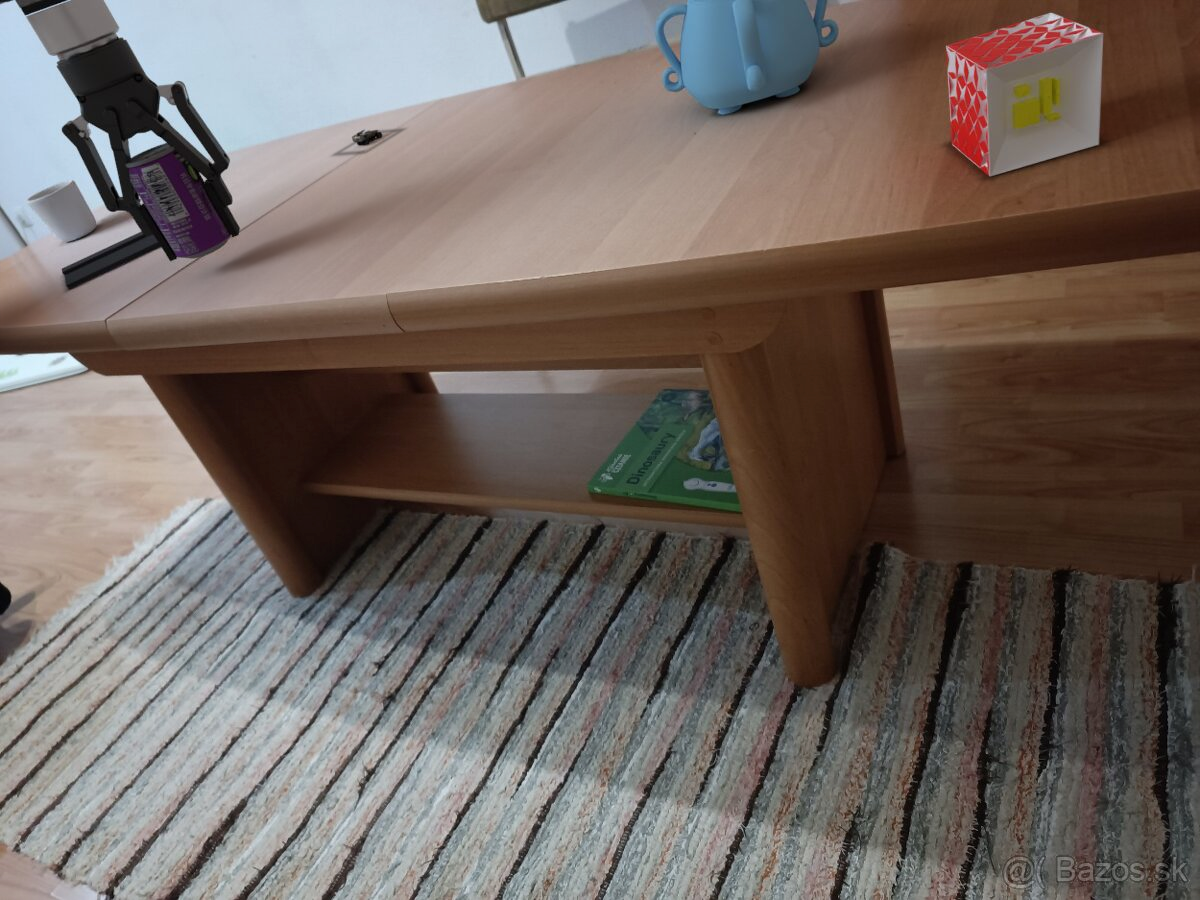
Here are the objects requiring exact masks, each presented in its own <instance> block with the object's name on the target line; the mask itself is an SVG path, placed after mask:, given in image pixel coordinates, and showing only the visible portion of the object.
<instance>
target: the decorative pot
mask: <svg viewBox="0 0 1200 900" xmlns="http://www.w3.org/2000/svg"><path fill="white" fill-rule="evenodd" d="M815 4H816V5H815V10H814V15H812V12H811V11H810V8H809V7H808V4H807V3H806V1H805V0H687V2H686V4H684V3H682V4H681V3H678V4H673V5H671V6H669V7H667V8H666V9H665V10H664V11H663V12H662V13H661V14H660V15H659V16H658V18H657V20H656V22H655V25H654V37H655V38H654V39H655V41H656V43H657V46H658V48H659V50H660V51H661V53H662V54H663V56H664V58H665V59H666V61H667V62H668V63H669V65H670V66H669V67H667V68H665V70H664V71H663V73H662V75H661V83H662V85H663V87H664V89H665V90H667V91H668V92H672V93H678V92H681V91H683V90H684V89H685V90H686V91H687V93H689V94H690V95H691V97H692V98H694V100H696V102H698V103H699V104H700V105H702V106H703V107H705V108H707V109H714V110H718V111H717V114H718V115H728V114H732V113H734V112H737V111H739V110H740V109H741V108H742V105H745V104H749V103H752V102H755V101H760V100H763V99H766V98H770V97H773V96H775V97H776V98H786V97H789V96H792V95H795V94H797V93H798V92H799V91H800V90H801V89H800V87H799V86H800V85H802V84H803V83H805V82H806V81H807V80H808V79H809V77H810V76H811V73H812V72H813V69H814V67H815V64H816V62H817V60H818V57H819V54H820V48H822V49H823V48H827V47H829V46H831V45H832V44H834V43H835V42H836V41H837V39H838V37H839V27H838V24H837V22H836V20H833V19H831V18H827V19H825V15H826V11H827V10H826V9H827V4H828V0H816V3H815ZM682 15H684V16H683V22H682V27H681V34H680V35H681V36H680V44H679V58H678V57H677V55H676V54H675V52H674V51H673V49H672V48H671V46H670V44H669V43H668V41H667V37H666V35H665V30H664V28H665V25H666V23H667V22H668V21H669V20H670V19H672V18H674V17H675V16H682ZM824 28H829V30H830V31H829V33H828V34H827V35H825V36H823V29H824ZM673 74H676V77H677V81H676V82H673V81H672V80H670V75H673Z"/></svg>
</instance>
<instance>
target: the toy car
mask: <svg viewBox="0 0 1200 900" xmlns="http://www.w3.org/2000/svg"><path fill="white" fill-rule="evenodd" d="M382 137H383V132H381V131H379V129H375V130H374V129H373V130H371V129H367V130H366V129H365V128H364V129H361V130H360V131H358V132H357V133H356V134H354V135H352V136H351V139H352V142H353V143H356V145H357V146H359V147H360V146H361V147H362V146H369V145H370V144H371V143H372V142H373V141H375V140H378V139H381V138H382Z"/></svg>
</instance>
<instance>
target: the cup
mask: <svg viewBox="0 0 1200 900" xmlns="http://www.w3.org/2000/svg"><path fill="white" fill-rule="evenodd" d="M25 203H26V204H27V206H28V207H29V208H30V209H31V210H32V211H33V213H34V214H35V215H36V216H37V217H38V218H39V220H40V221H41V222H42V223H43V224H44V225H45V227H46V228H47V229H48V230H49V231H50V232H51V233H52V234H53V235H54V237H55V238H56V239H58V240H59V241H61V242H64V243H65V242H67V243H68V242H72V241H75V240H78V239H81V238H83V237H85V236H87V235H88V234H90V233H92V232H93V231H94V230H95V229H96V228H97V219H96V217H95V215H94V214H93V212H92V210H91V208H90V206H89V204H88V202H87V201H86V200H85V197H84V195H83V194H82V192H81V190H80V188H79V186H78V184H77V183H76V181H75V180H73V179H68V180H65V181H61V182H59V183H56V184H52V185H51V186H49V187H46V188H44V189H42V190H40V191H38V192H36V193H34V194H32V195H31V196H29V197H28V198H27V199H26V202H25Z"/></svg>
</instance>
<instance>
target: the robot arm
mask: <svg viewBox="0 0 1200 900" xmlns="http://www.w3.org/2000/svg"><path fill="white" fill-rule="evenodd" d="M12 1H13V0H0V5H2V4H5V3H9V2H12ZM14 1H15V2H16V4H17V5H18V7H19V9H20V10H21V11H22V13H23V15H24V16H25V18H26V20H27V21H28V23H29V25H30V26H31V27H32V29H33V31H34V33H35V35H36V36H37V37H38V39H39V41H40V42H41V44H42V46H43V47H44V49H45V51H46V52H47V54H48V55H49V56H52V57H55V56H56V57H57V59H58V61H56V64H57V65H56V68H57V69H58V71H59V73H60V75H61V77H62V78H63V79H64V81H65V83H66V84H67V86H68V87H69V89H70V90H71V92H72V94H73V95H74V97H75V98H76V101H77V102H78V104H79V109H80V110H79V111H80V115H79V116H77V117H76V118H74V119H73V120H69V121H67V122H66V123H65V124H64V125H63V126H61V133H62V134H63V135H64V136H65V137H66V139H68V140H69V141H70V142H71V144H72V145H73V146H74V147H75V148H76V150H77V152H78V154H79V156H80V158H81V160H82V162H83V164H84V166H85V168H86V170H87V172H88V174H89V176H90V178H91V180H92V182H93V184H94V186H95V188H96V190H97V192H98V194H99V196H100V198H101V201H102V202H103V204H104V206H105V208H106V210H108V212H110V213H115V212H126V213H129V214H130V216H131V217H132V219H133V221H134V222H135V224H136V225H137V227H138V228H139V229H140V232H141V231H142V233H143V234H144V235H145V236H147V237H148V236H150V235H154V236H155V238H156V239H157V241H158V243H159V244H160V247H161V249H162V250H163V252H164V254H165V256H166V257H167V259H168V261H169V262H173V261H175V260H177V259H178V257H177V256H176V255H175V253H174V251H173V250H172V248H171V246H170V245H169V243H168V242H167V240H166V238H165V237H164V235H163V234H162V232H161V230H160V229H159V227H158V226H157V224H156V222H155V221H154V219H153V217H152V216H151V214H150V213H149V211H148V209H147V208H146V206H145V205H144V203H141V202H142V200H141V198H140V197H139V195H138V193H137V192H136V190H135V188H134V187H133V185H132V183H131V182H130V174H129V168H127V167H126V165H125V164H127V163H130V161H131V158H132V156H131V150H130V143H129V140H130V139H132V138H133V137H134V136H136V135H137V134H146V133H148V132H152V133H153V134H154V135H156V136H157V137H158V138H161V139H162V140H163V141H164V142H165V143H167V144H169V145H170V146H171V147H173V146H174V148H175V151H176V152H177V153H178V154H180V155H181V156H182V157H183V158H184V159H186V160H187V162H188V163H190V164H191V165H192V166H193V167H194V168H195V169H196V170H197V171H198V172H199V173H200V175H201V176H202V177H204V178H205V180H204V182H205V183H204V185H203V187H204V188H205V190H206V192H207V194H208V195H209V197H210V199H211V201H212V202H213V204H214V206H215V208H216V209H217V211H218V213H219V215H220V216H221V218H222V220H223V222H224V223H225V225H226V227H227V229H228V230H229V232H230V234H231V236H230V237H231V238H235V237H237V236H239V234H240V231H241V228H240V225H239V224H238V222H237V221H236V219H235V216H234V215H233V213H232V212H231V209H230V208H229V207H230V206H232V205H233V203H234V200H233V196H232V193H231V191H230V190H229V188H228V186H227V185H226V183H225V181H224V179H223V177H222V174H223V173H224V172H225V171H226V170H227V169H228V168H229V166H230V163H231V159H230V156H229V155H228V154H227V152H226V151H225V149H224V148H223V147H222V145H221V144H220V142H219V141H218V140H217V138H216V137H215V135H214V134H213V132H212V131H211V129H210V128H209V127H208V125H207V124H206V122H205V121H204V119H203V118H202V117H201V115H200V114H199V112H198V111H197V110H196V107H194V105H193V104H192V102H191V100H190V97H189V93H188V90H187V87H186V84H185V83H184V82H183V81H181V80H176V81H174V83H169V84H159V85H158V84H157V83H156V82H155V81H153V80H152V79H150V78H149V76H148V75H147V73H146V72H145V70H144V68H143V66H142V65H141V63H140V61H139V59H138V58H137V56H136V54H135V53H134V51H133V49H132V47H131V45H130V44H129V42H128V40H127V39H124V37H119V36H118V34H117V33H118V32H119V31H120V26H119V24H118V23H117V21H116V19H115V17H114V15H113V14H112V12H111V10H110V9H109V7H108V5H107V3H106V2H105V0H14ZM161 97H162V98H164V99H166V101H167V103H168V104H169V105H171V106H175V107H176V109H177V111H178V113H179V115H180V116H181V117H182V119H183V121H185V123H186V124H187V126H188V127H189V129H190V130H191V131H192V133H193V134H194V136H195V137H196V139H197V140H198V142H199V143H200V144H201V145H202V147H203V148H204V149H205V151H206V152H207V154H208V156H209V157H210V159H212V161H213V163H212V161H211V160H209V159H208V158H207V157H206V156H205V155H204V154H203V153H201V152H200V151H199V150H198V149H197V148H196V147H195V146H194V145H193V144H192V143H191V142H189V140H188V139H186V138H185V137H184V136H183V135H182V134H181V133H180V132H179V131H177V130H176V129H175V127H173V125H171V123H170V122H169V121H168V119H166V118H165V116H163V115H162V114H160V113H159V112H160V102H161ZM89 124H90V125H92V126H94V127H95V128H97V129H99V130H101V131H102V132H104V133H106V134H107V135H108V139H109V145H110V149H111V150H112V153H113V159H114V163H115V167H116V172H117V177H118V181H119V186H120V190H121V195H122V196H120V194H119V193H118V190H117V189H116V186H115V184H114V182H113V179H112V178H111V176H110V173H109V171H108V170H107V168H106V165H105V164H104V161H103V159H102V157H101V155H100V153H99V151H98V149H97V146H96V145H95V143H94V141H93V139H92V137H90V136H91V135H92V131H91V128H90V127H89Z"/></svg>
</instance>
